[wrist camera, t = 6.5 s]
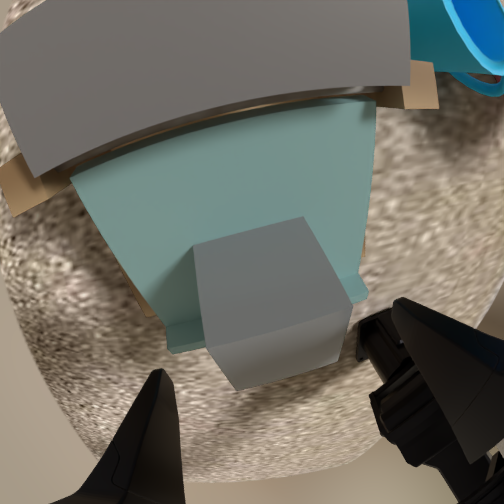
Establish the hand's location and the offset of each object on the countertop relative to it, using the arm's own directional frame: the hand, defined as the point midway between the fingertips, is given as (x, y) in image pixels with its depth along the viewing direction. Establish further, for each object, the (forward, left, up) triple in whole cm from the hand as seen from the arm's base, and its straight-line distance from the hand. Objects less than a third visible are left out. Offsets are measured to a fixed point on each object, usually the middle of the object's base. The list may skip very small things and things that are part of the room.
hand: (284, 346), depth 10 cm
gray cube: (0, 0, -5) cm, 5 cm away
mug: (+12, -17, -11) cm, 24 cm away
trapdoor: (+6, 0, -7) cm, 9 cm away
